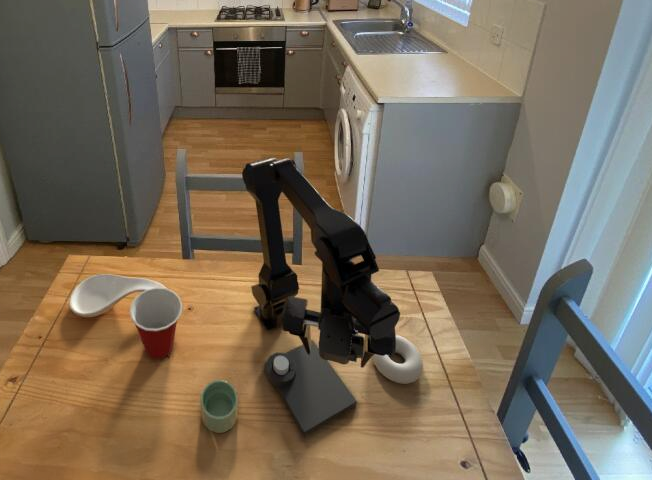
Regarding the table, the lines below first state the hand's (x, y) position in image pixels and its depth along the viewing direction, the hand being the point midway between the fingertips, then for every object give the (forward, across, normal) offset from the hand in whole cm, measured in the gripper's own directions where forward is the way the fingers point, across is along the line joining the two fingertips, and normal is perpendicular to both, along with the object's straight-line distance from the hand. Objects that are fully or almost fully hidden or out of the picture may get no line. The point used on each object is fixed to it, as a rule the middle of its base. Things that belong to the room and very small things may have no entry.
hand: (335, 358), depth 75 cm
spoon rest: (+10, -50, +8) cm, 52 cm away
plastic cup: (+11, -37, +1) cm, 38 cm away
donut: (+12, +12, +12) cm, 21 cm away
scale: (+12, -5, +2) cm, 13 cm away
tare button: (+9, -10, +2) cm, 14 cm away
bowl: (+12, -20, -8) cm, 24 cm away
